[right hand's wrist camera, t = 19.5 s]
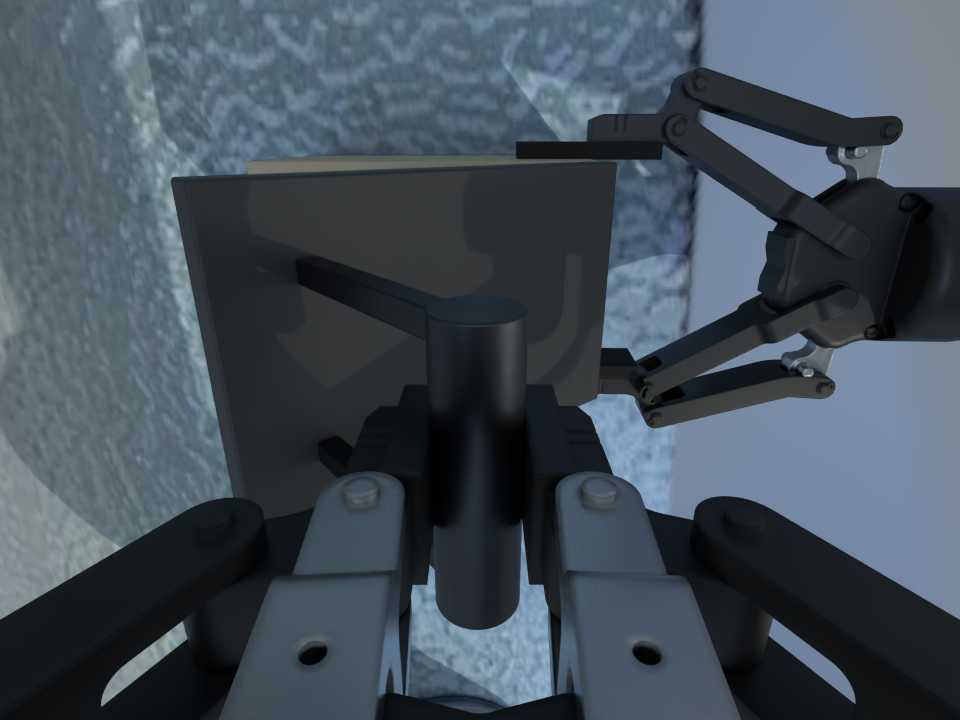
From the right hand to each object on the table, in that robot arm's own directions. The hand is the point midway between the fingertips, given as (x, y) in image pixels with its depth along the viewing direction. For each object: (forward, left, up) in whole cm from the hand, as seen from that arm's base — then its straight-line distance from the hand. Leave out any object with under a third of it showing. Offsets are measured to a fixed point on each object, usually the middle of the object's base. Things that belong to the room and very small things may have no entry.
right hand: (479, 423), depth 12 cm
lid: (0, -2, -8) cm, 8 cm away
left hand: (0, +1, -17) cm, 17 cm away
